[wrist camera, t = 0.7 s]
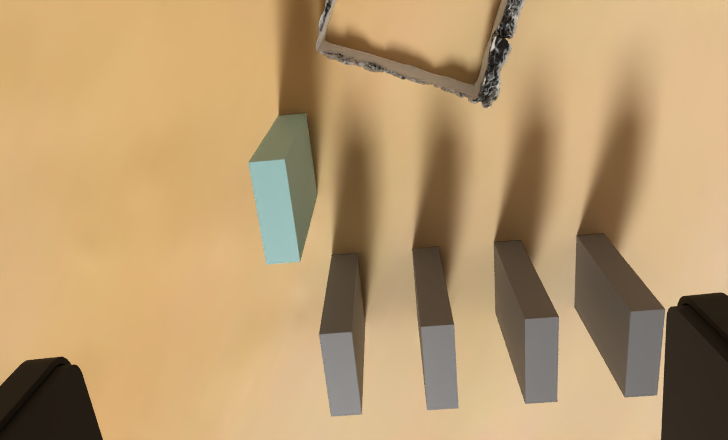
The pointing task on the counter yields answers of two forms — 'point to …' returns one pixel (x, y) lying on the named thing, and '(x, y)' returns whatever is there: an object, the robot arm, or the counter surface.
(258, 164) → the teal domino
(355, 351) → the domino
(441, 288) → the domino
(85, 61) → the counter surface
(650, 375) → the domino
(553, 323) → the domino
